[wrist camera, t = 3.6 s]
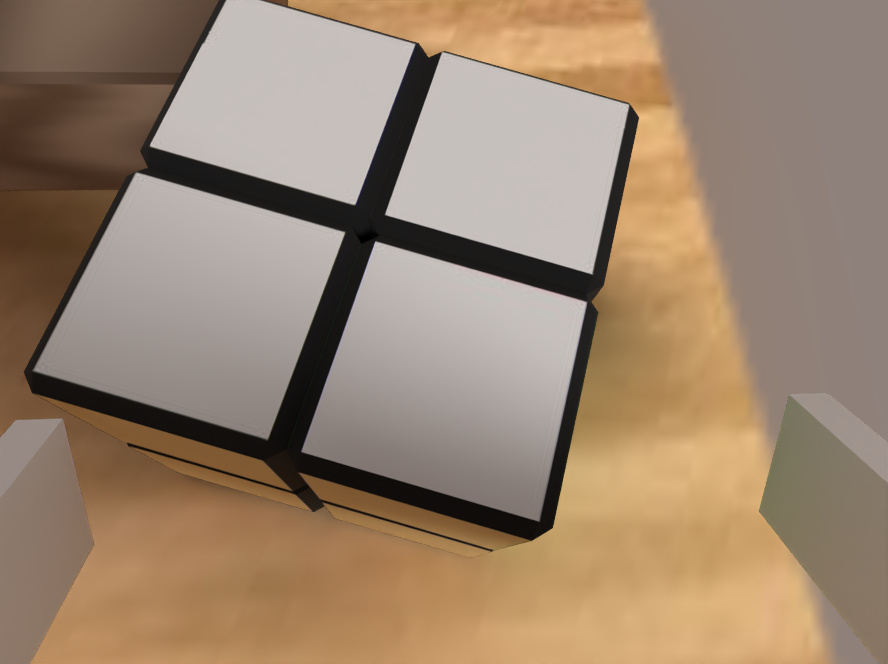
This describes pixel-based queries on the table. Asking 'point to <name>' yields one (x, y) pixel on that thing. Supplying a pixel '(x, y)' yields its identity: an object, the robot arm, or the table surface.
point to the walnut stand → (87, 85)
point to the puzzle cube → (351, 279)
